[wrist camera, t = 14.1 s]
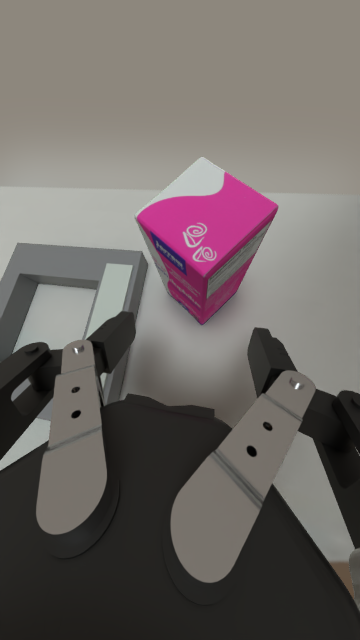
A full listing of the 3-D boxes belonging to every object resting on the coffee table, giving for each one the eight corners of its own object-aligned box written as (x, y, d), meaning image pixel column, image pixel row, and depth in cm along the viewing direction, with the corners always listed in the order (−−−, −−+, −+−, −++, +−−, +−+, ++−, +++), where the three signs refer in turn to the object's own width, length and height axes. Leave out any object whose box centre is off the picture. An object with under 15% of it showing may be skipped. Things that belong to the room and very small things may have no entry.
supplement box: (165, 294, 21) (129, 211, 10) (201, 261, 22) (204, 149, 11) (200, 328, 19) (204, 275, 8) (238, 292, 20) (286, 199, 9)
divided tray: (147, 263, 22) (140, 249, 19) (113, 423, 18) (98, 432, 15) (35, 255, 24) (15, 241, 22) (-21, 395, 20) (-55, 399, 17)
